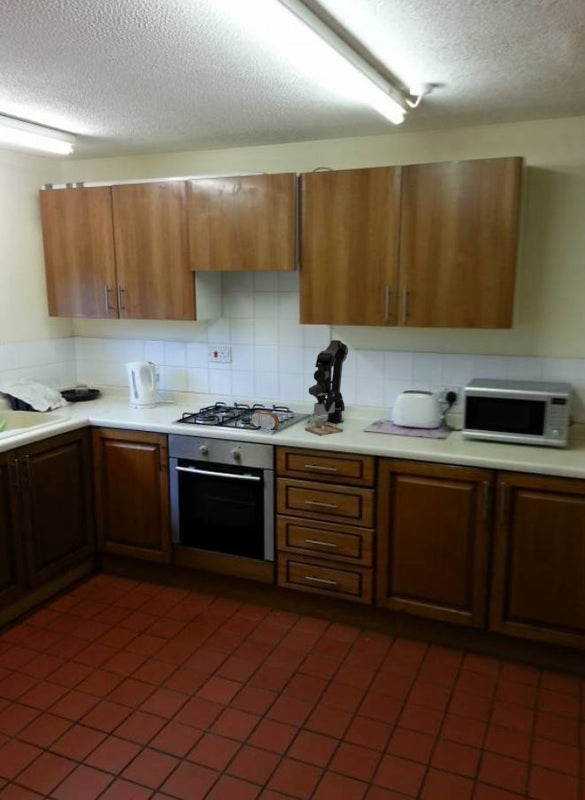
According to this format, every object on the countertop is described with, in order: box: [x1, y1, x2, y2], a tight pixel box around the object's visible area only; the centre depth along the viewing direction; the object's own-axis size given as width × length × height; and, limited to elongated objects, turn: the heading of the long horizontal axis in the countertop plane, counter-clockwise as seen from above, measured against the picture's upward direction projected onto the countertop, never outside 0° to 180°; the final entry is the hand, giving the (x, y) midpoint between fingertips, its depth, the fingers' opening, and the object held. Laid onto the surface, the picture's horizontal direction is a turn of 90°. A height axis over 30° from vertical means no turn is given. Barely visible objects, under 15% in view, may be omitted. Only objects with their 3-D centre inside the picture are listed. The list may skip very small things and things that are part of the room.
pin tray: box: [304, 420, 344, 437], centre depth 310 cm, size 14×12×4 cm
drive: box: [313, 401, 335, 416], centre depth 308 cm, size 10×4×5 cm, turn 132°
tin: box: [250, 409, 280, 429], centre depth 313 cm, size 15×3×8 cm, turn 59°
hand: (324, 410), depth 308 cm, fingers closed on drive, 4 cm apart
